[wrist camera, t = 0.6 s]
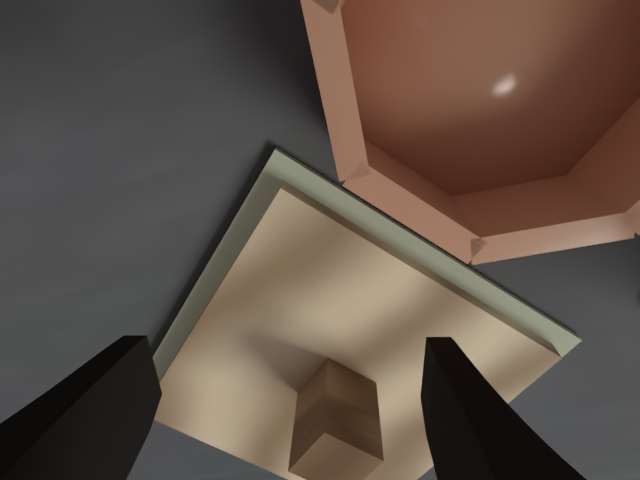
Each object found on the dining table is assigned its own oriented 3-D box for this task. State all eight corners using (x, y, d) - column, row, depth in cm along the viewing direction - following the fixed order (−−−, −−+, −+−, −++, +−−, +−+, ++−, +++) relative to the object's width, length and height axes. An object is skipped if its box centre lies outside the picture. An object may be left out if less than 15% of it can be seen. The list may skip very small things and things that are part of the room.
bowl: (765, -22, 15) (951, -47, 10) (503, 252, 20) (550, 315, 15) (479, -303, 12) (560, -501, 8) (262, 96, 17) (234, 118, 13)
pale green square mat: (578, 335, 22) (582, 340, 21) (374, 508, 29) (374, 514, 28) (276, 146, 18) (275, 149, 18) (128, 397, 25) (125, 402, 25)
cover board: (552, 344, 22) (615, 436, 17) (371, 501, 28) (377, 602, 23) (283, 180, 18) (262, 234, 13) (147, 400, 25) (99, 491, 20)
